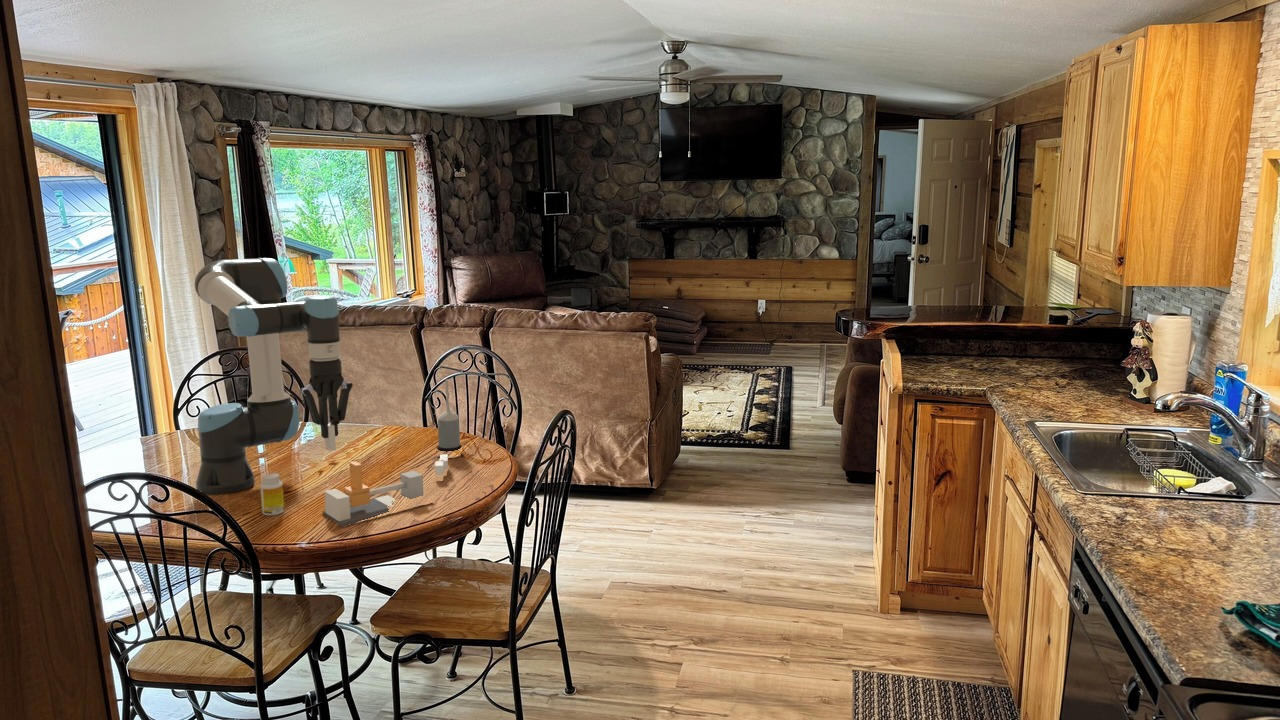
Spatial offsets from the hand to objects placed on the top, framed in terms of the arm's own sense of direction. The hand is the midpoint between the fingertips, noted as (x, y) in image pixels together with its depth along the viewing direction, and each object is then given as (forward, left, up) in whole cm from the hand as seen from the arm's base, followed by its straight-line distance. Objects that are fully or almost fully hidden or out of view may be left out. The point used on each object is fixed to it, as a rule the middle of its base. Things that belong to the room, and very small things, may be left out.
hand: (330, 449), depth 221 cm
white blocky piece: (+39, +14, -20) cm, 46 cm away
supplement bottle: (-9, +16, -19) cm, 27 cm away
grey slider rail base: (+13, 0, -19) cm, 23 cm away
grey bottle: (+53, +30, -20) cm, 64 cm away
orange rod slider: (+7, 0, -16) cm, 17 cm away
